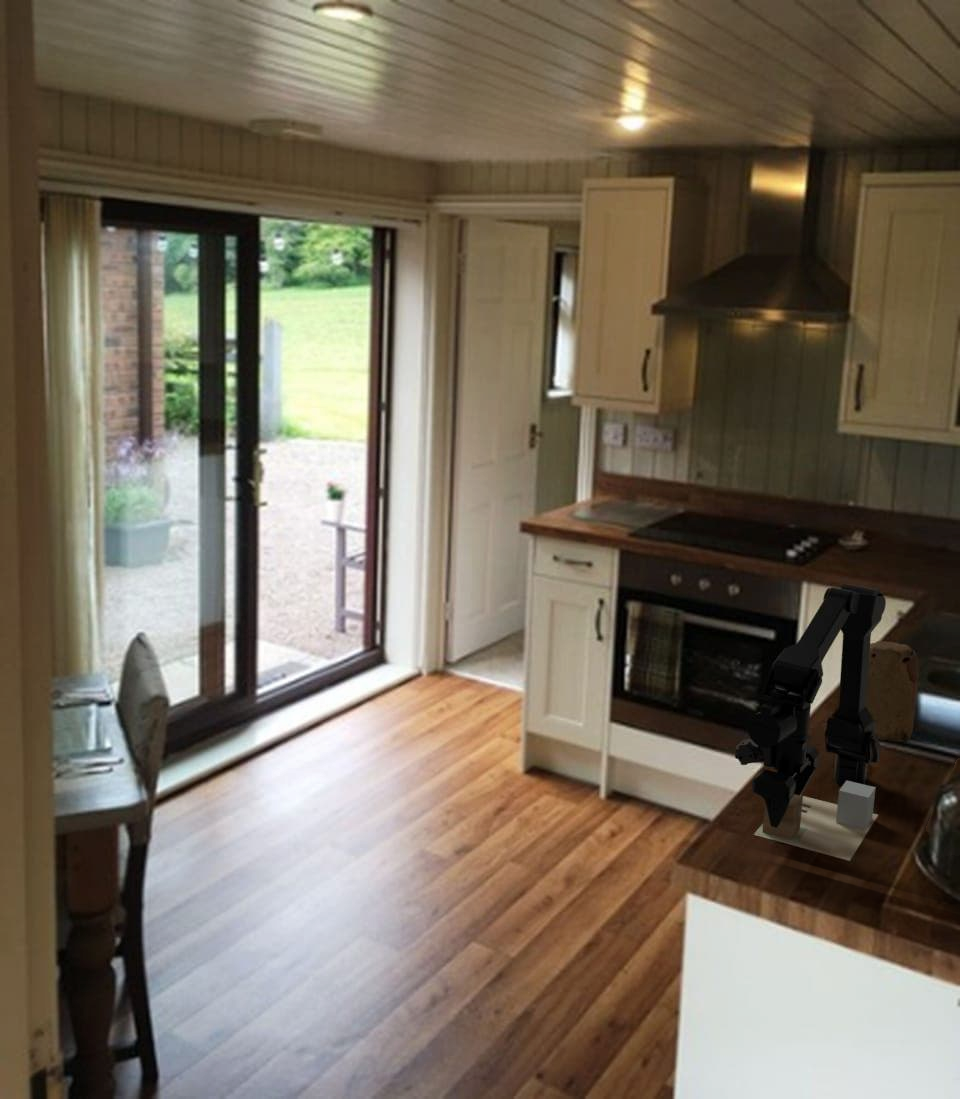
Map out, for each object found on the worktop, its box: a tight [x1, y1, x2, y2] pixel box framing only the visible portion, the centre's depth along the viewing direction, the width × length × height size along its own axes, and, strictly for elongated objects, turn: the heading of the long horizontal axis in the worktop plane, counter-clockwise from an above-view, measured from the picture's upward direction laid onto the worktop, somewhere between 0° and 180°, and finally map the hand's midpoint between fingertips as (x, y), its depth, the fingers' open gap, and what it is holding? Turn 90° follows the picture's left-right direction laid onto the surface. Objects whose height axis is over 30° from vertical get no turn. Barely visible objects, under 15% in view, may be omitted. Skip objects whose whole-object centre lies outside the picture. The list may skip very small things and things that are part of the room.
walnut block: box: [762, 794, 804, 840], centre depth 193 cm, size 5×5×6 cm
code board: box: [753, 794, 879, 861], centre depth 196 cm, size 20×16×1 cm
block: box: [866, 640, 920, 743], centre depth 238 cm, size 11×8×20 cm
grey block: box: [836, 780, 877, 830], centre depth 197 cm, size 5×5×6 cm
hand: (782, 816), depth 193 cm, fingers open, 9 cm apart
